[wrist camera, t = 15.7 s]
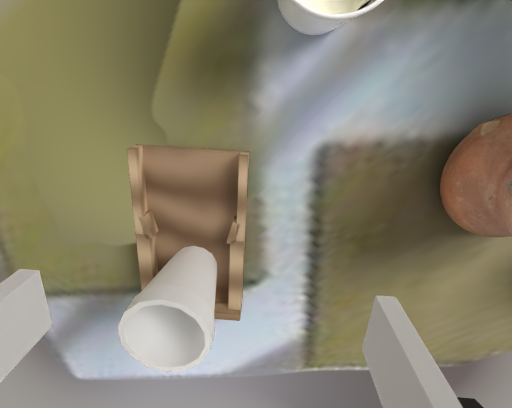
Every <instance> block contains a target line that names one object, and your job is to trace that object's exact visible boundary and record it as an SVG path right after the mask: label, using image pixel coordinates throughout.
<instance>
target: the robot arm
mask: <svg viewBox="0 0 512 408" xmlns="http://www.w3.org/2000/svg"><path fill="white" fill-rule="evenodd" d="M52 326H53V324H52V320H51V316H50V312H49V308H48V304H47V300H46V296H45V292H44V288H43V284H42V280H41V276H40V272H39V270H26V269H19V270H18V271H17V272H15V273H14V274H12V275H11V276H10V277H8V278H7V279H5V280H4V281H3V282H1V283H0V382H1V381H2V380H3V379H4V378H5V377H6V376H7V374H8V373H9V372H10V371H11V370H12V369H13V368H14V367H15V366H16V365H17V364H18V363H19V362H20V361H21V359H22V358H23V357H24V356H25V355H26V354H27V353H28V352H29V351H30V349H31V348H32V347H33V346H34V345H35V344H36V343H37V342H38V341H39V340H40V339H41V338H42V337H43V335H44V334H45V333H46V332H47V331H48V330H49V329H50V328H51V327H52ZM362 350H363V353H364V356H365V359H366V362H367V365H368V367H369V370H370V373H371V376H372V378H373V381H374V384H375V387H376V389H377V392H378V395H379V398H380V401H381V404H382V406H383V408H483V407H482V406H481V405H480V404H479V403H478V402H477V401H476V400H475V399H470V398H457V397H456V395H455V394H454V392H453V391H452V389H451V387H450V385H449V384H448V382H447V381H446V379H445V377H444V376H443V374H442V372H441V371H440V369H439V367H438V366H437V364H436V362H435V361H434V359H433V357H432V356H431V354H430V353H429V351H428V349H427V348H426V346H425V344H424V343H423V341H422V339H421V338H420V336H419V334H418V333H417V331H416V329H415V328H414V326H413V325H412V323H411V321H410V320H409V318H408V316H407V315H406V313H405V311H404V310H403V308H402V306H401V305H400V303H399V301H398V300H397V298H396V297H390V296H375V300H374V304H373V308H372V312H371V316H370V320H369V324H368V328H367V332H366V336H365V339H364V343H363V347H362Z"/></svg>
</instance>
